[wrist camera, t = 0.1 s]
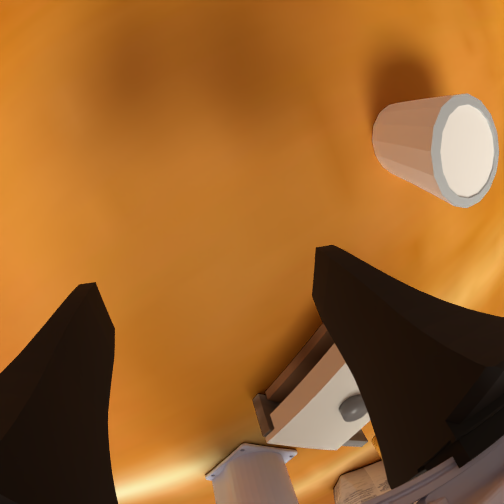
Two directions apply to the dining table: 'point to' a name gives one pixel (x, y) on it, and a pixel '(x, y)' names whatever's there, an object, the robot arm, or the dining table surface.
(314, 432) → the lid
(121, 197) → the dining table surface
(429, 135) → the white cup
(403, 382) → the robot arm
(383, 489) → the juice carton
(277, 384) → the housing
